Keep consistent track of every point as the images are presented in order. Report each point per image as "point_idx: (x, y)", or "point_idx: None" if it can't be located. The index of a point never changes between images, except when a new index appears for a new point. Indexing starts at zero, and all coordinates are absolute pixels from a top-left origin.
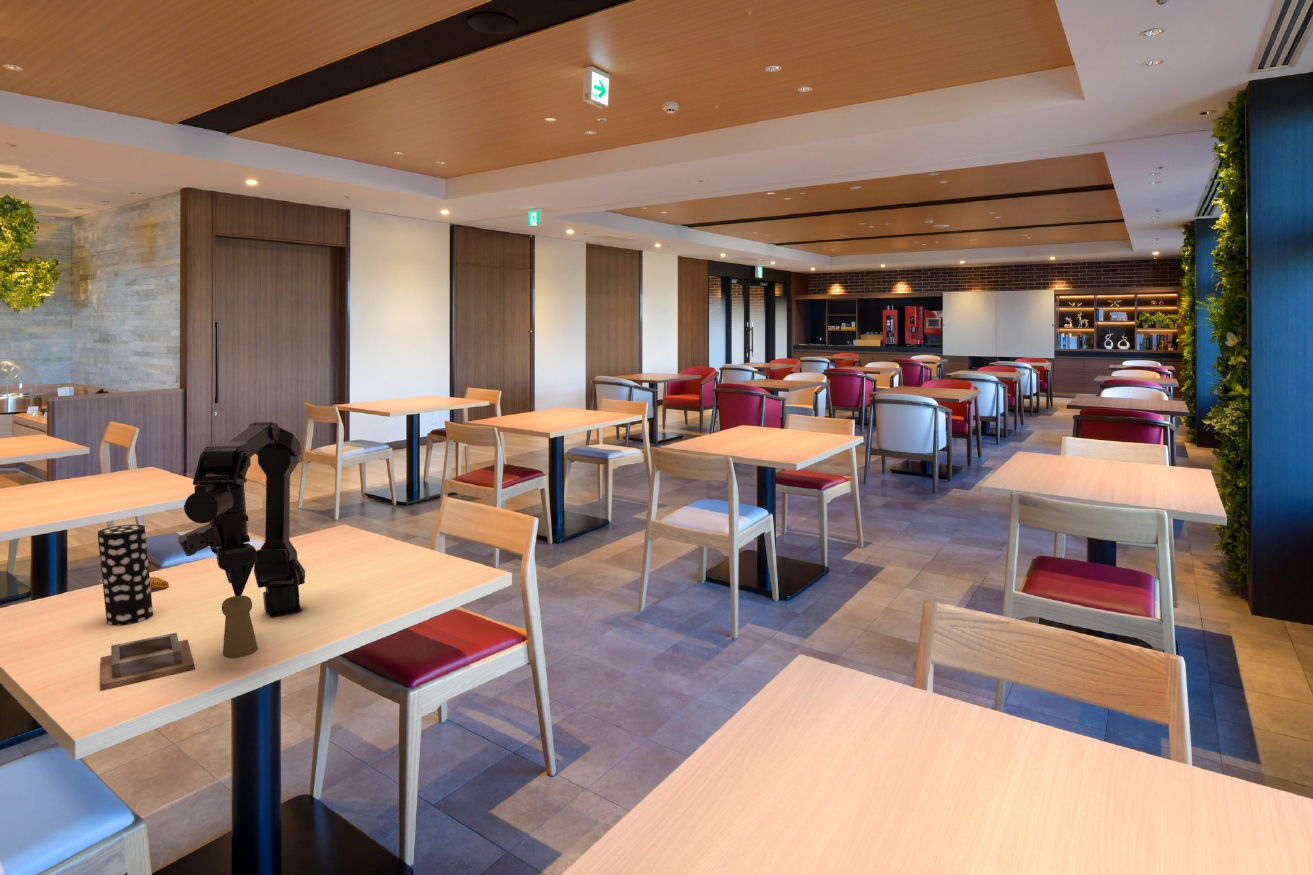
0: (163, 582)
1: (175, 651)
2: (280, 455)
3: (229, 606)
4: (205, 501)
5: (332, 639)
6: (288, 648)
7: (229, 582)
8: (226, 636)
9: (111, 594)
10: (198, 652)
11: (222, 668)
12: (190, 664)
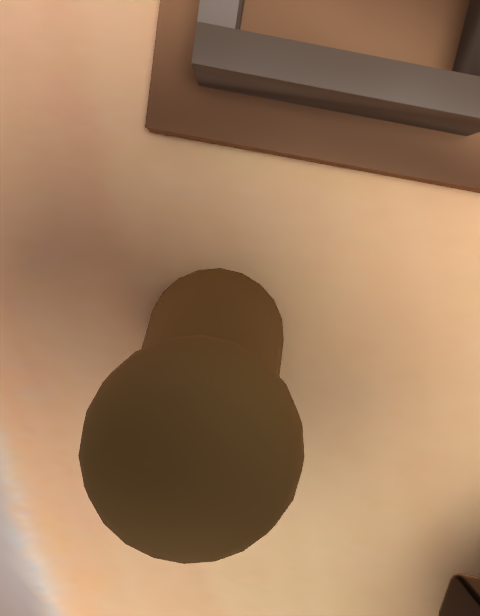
0: None
1: (196, 34)
2: None
3: (109, 388)
4: None
5: (80, 608)
6: None
7: (454, 579)
8: (188, 300)
9: None
10: (342, 200)
11: (76, 224)
12: (154, 112)
